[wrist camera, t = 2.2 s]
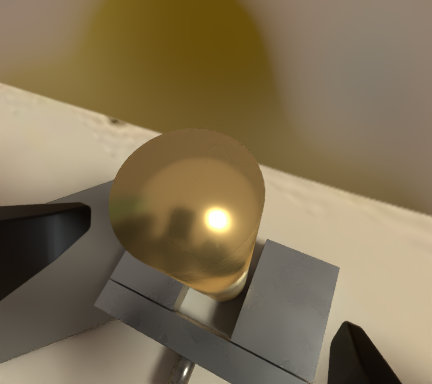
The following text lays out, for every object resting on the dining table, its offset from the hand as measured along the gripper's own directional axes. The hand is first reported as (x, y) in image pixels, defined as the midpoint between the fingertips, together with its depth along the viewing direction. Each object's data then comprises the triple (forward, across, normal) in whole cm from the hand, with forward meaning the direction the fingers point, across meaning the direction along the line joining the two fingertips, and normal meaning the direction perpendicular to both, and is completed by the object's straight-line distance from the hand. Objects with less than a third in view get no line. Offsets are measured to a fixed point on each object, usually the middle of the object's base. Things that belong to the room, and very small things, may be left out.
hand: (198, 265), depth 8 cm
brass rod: (+7, 0, +6) cm, 9 cm away
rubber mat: (+4, +11, +8) cm, 14 cm away
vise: (+5, 0, +7) cm, 9 cm away
